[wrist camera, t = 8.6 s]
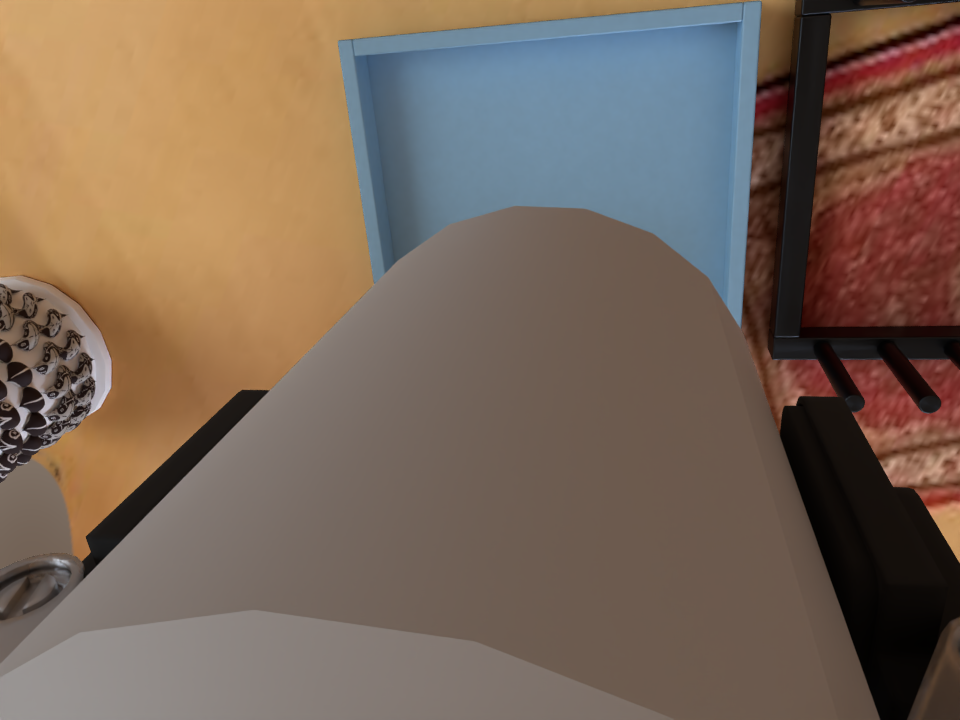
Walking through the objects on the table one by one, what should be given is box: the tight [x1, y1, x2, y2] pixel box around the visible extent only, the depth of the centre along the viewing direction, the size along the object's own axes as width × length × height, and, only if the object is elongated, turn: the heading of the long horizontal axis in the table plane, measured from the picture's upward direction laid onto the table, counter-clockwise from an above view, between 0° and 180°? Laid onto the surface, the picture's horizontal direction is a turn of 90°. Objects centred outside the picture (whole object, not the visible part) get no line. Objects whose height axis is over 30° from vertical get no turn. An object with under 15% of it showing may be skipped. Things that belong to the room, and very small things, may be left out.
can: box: [0, 206, 880, 720], centre depth 9 cm, size 8×8×12 cm
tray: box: [338, 1, 762, 329], centre depth 30 cm, size 15×13×2 cm
